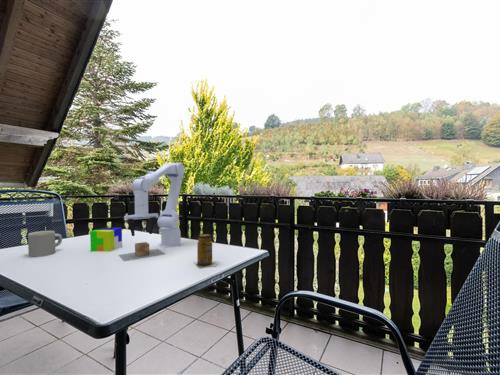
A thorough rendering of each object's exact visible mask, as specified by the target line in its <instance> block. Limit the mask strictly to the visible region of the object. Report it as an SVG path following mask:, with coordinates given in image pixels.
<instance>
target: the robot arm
mask: <svg viewBox="0 0 500 375" xmlns="http://www.w3.org/2000/svg"><path fill="white" fill-rule="evenodd" d="M161 165H162V166H161V167H160V168H158V169H156V171H153V170H149V171H147V173H146V174H144V175H142V176H141V177H140V178H135V179H134V180H133V181H132V183H131V189H132V191H133V195H134V214H129V215H124V216H123V221H126V223H127V224H128V227H129V230H130V234H131V236H132V237H135V235H136V234H135V226H136V225H135V223H136V222H135V220H143V219H147V220H148V234H150V235H152V234H153V230H154V227H155V224H156V223H157V226H158V228H159V229H160V233H161V234H160V240H161V241H160V242H161V243H158V246H160V247H161V248H163V249H165V248H171V247H177V246H178V247H180V246H182V243H181V241H182V239H181V238H182V237H181V229H180V228H179V227H178V226H179V225H180V224H179V223H180V220H179V218H180V214H178V212H177V206H178V202H179V201H178V200H179V196H180V193H181V187H182V183H183V180H184V179H183V178H184V175H185V167H184V165H183V163H182V162H170V163H169V162H166V163H164V164H161ZM164 176H166V177H167V179H168V180H169V181H170V182H171V183H170V187H169V191H168V195H167V200H166V205H165V209H164V210H162V211H161V212H160V213H157V212H156V213H155V212H153V213H149V191H151V188H152V186H154V185H155V184H156V183H158V182H159V181H160V178H161V177H164ZM159 214H160V215H159Z"/></svg>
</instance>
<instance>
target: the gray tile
mask: <svg viewBox="0 0 500 375" xmlns="http://www.w3.org/2000/svg"><path fill="white" fill-rule="evenodd" d="M163 255H166V253H165V252H164V251H162V250H160V249H159V248H156V249H155V248H154V249H149V255H145V256H139V257H138V256H137V255H135V251H134V252H130V253H122V254H118V257H119V258H120V259H121V260H122V261H123V262H128V261H135V260H140V259H146V258H151V257H159V256H163Z"/></svg>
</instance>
